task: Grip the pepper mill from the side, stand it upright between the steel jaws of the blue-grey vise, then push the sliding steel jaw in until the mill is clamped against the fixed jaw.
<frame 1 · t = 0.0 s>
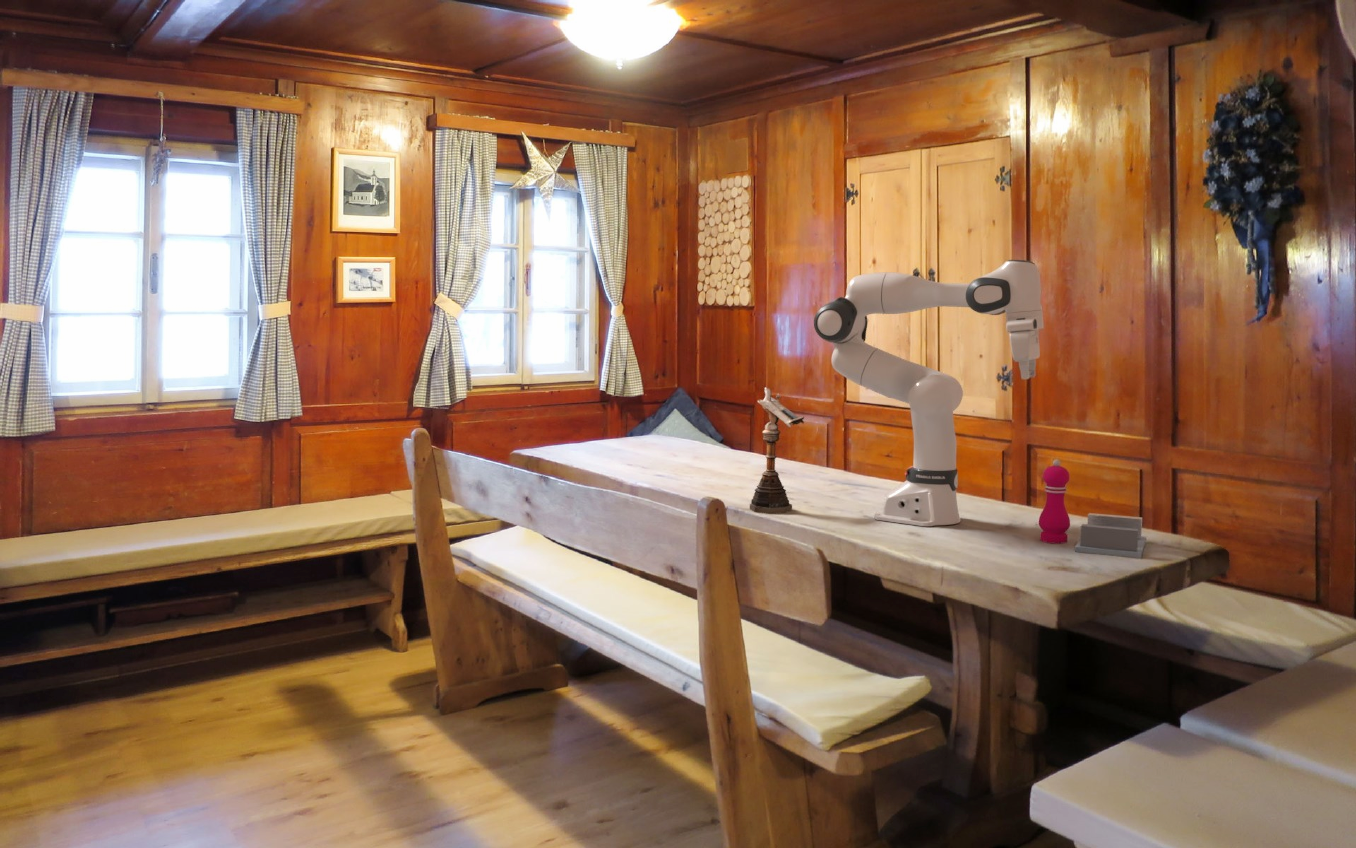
hand: (1028, 378, 257), 39 cm above the table, tool pointing down, fingers open, 8 cm apart
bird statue: (779, 510, 287), on the table
vise: (1110, 548, 240), on the table
sliding jaw: (1114, 525, 247), point 4 cm above the table, slide at 0.0 cm
pepper mill: (1053, 541, 248), on the table
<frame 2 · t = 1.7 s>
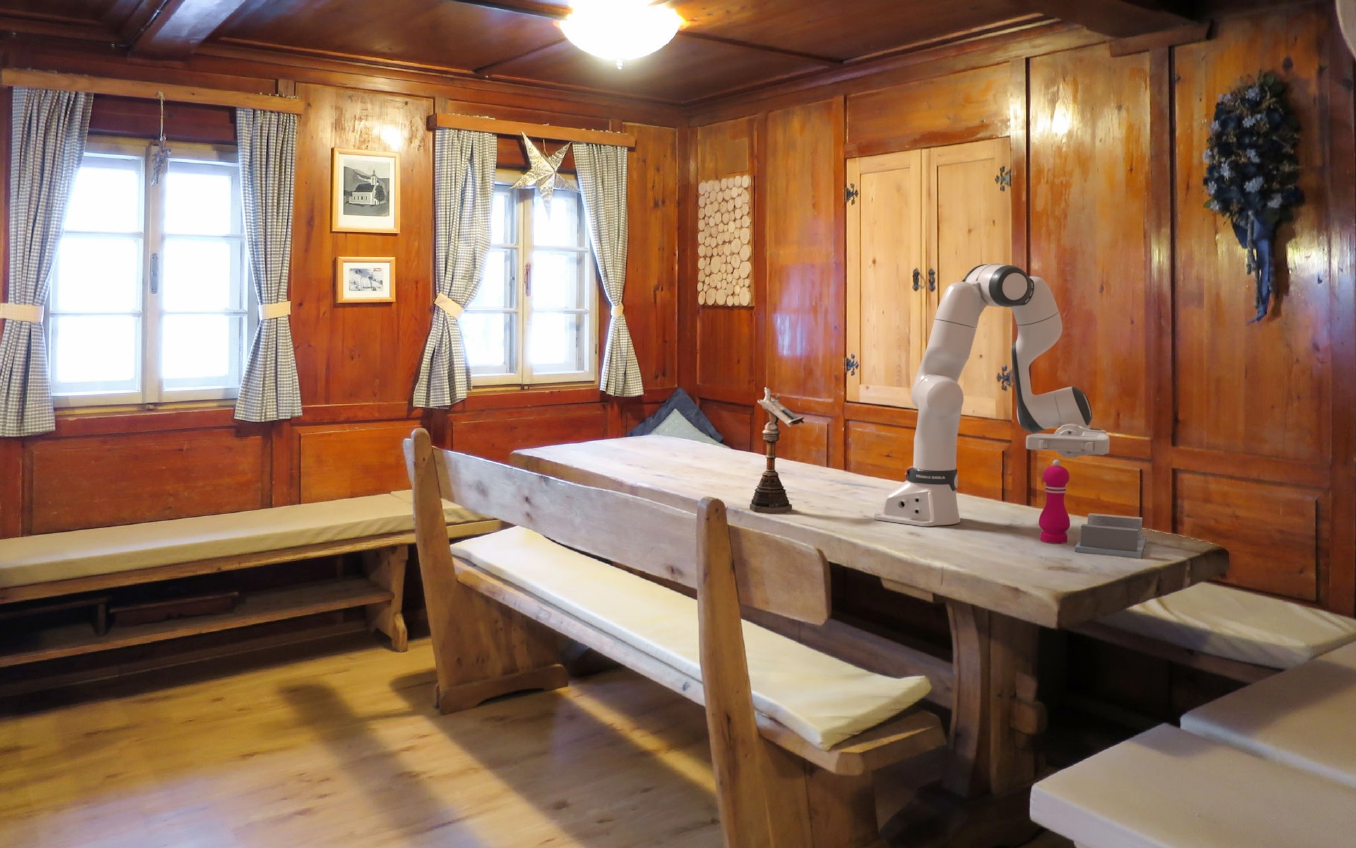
hand: (1063, 446, 256), 22 cm above the table, tool horizontal, fingers open, 8 cm apart
nothing on the table moved.
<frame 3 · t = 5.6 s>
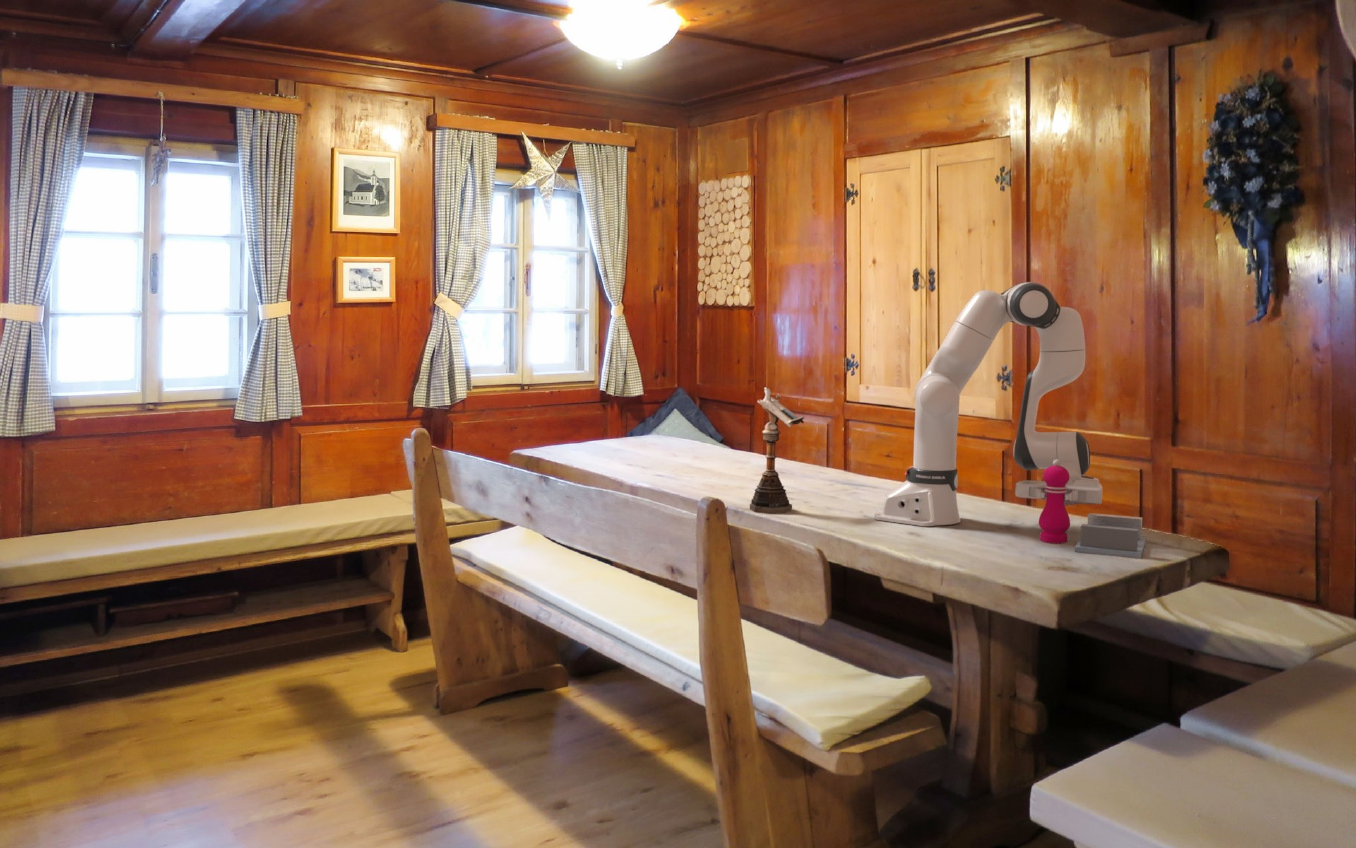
hand: (1054, 496, 246), 11 cm above the table, tool horizontal, fingers closed on pepper mill, 5 cm apart
pepper mill: (1053, 541, 248), on the table, touching gripper
everything else where it was.
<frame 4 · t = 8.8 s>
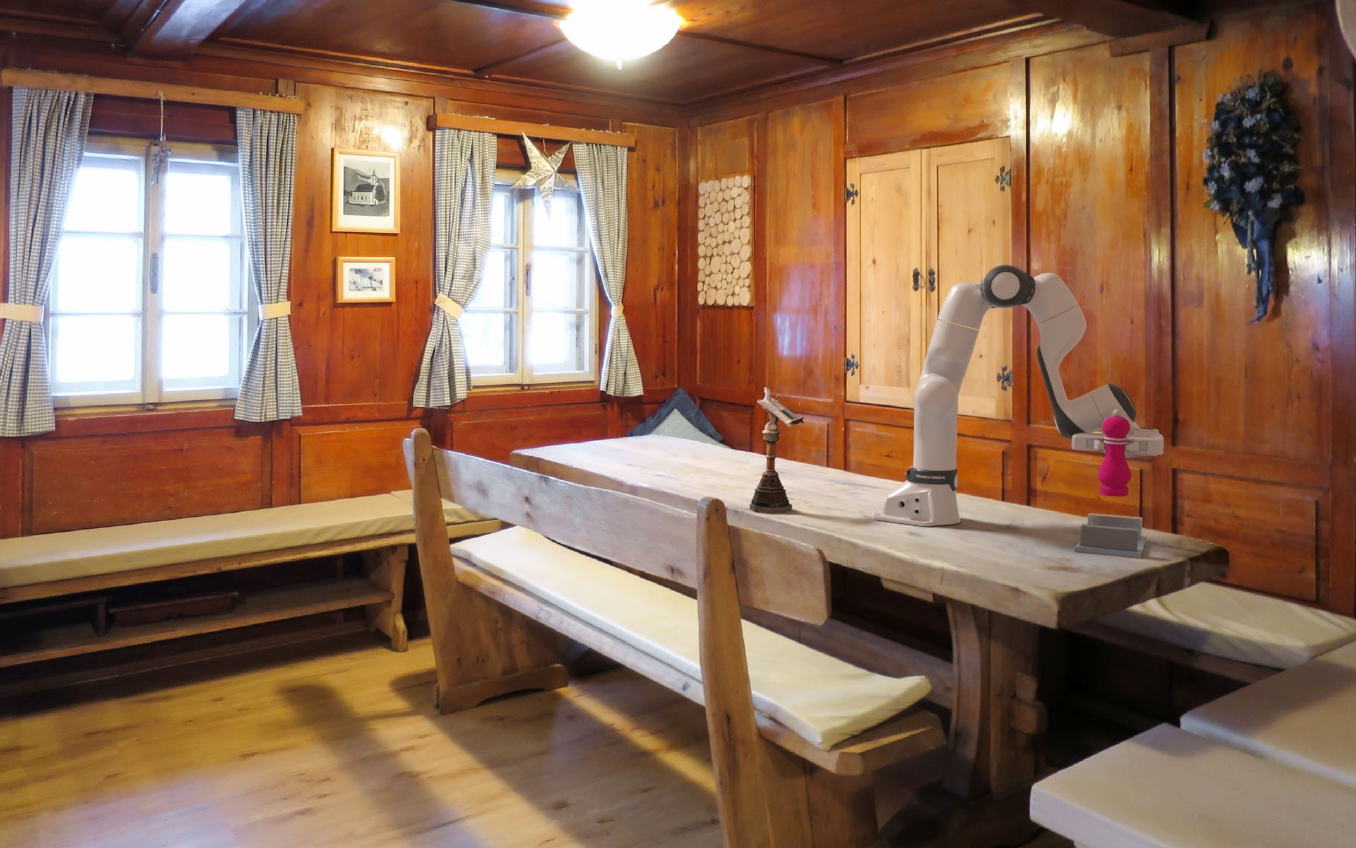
hand: (1114, 447, 237), 24 cm above the table, tool horizontal, fingers closed on pepper mill, 5 cm apart
pepper mill: (1113, 495, 239), point 13 cm above the table, touching gripper
everything else where it was.
when the fingers open (13 cm above the table, at t = 11.7 s): pepper mill stays where it is, resting on vise.
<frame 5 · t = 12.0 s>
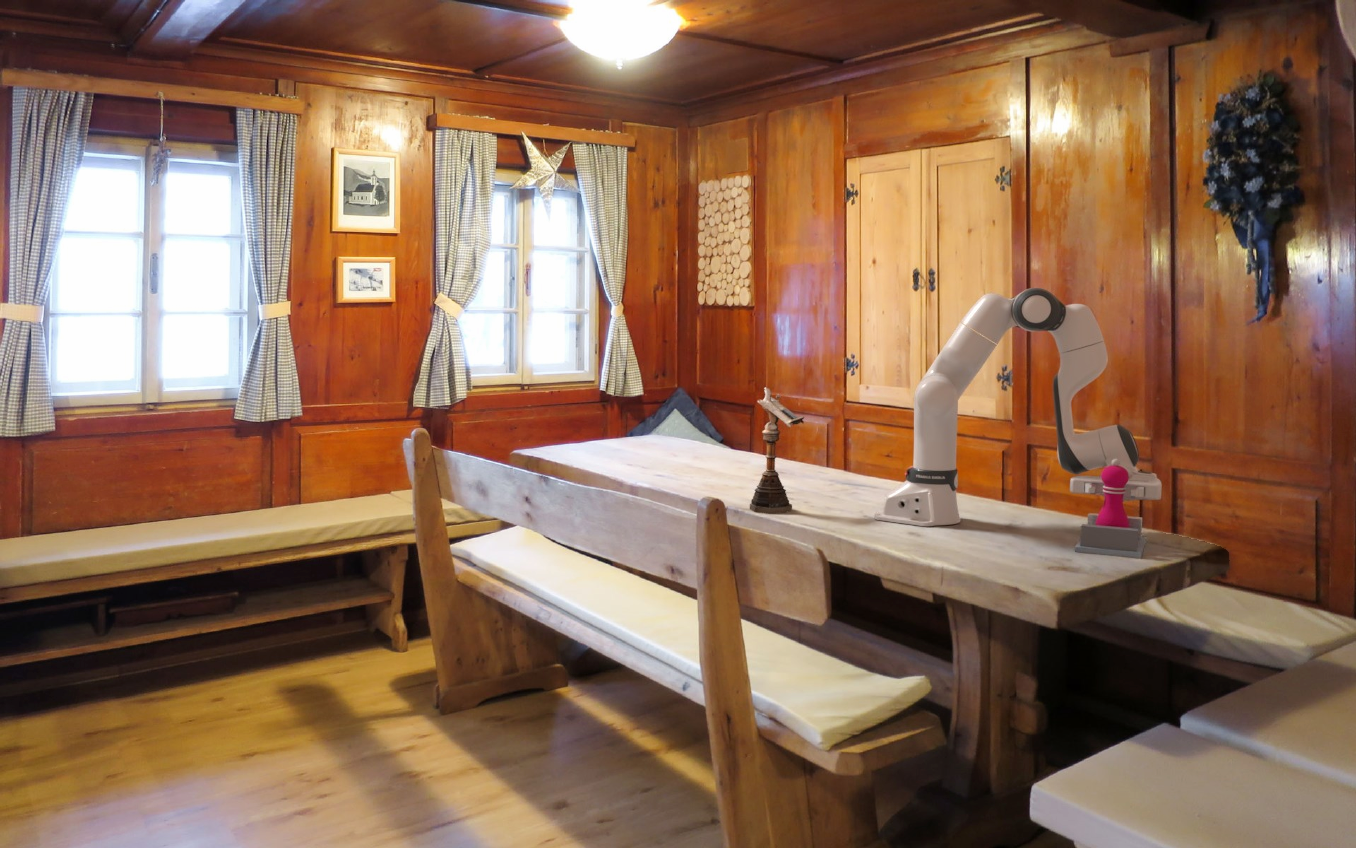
hand: (1112, 492, 238), 13 cm above the table, tool horizontal, fingers open, 8 cm apart
pepper mill: (1111, 543, 240), point 1 cm above the table, touching vise
everything else where it was.
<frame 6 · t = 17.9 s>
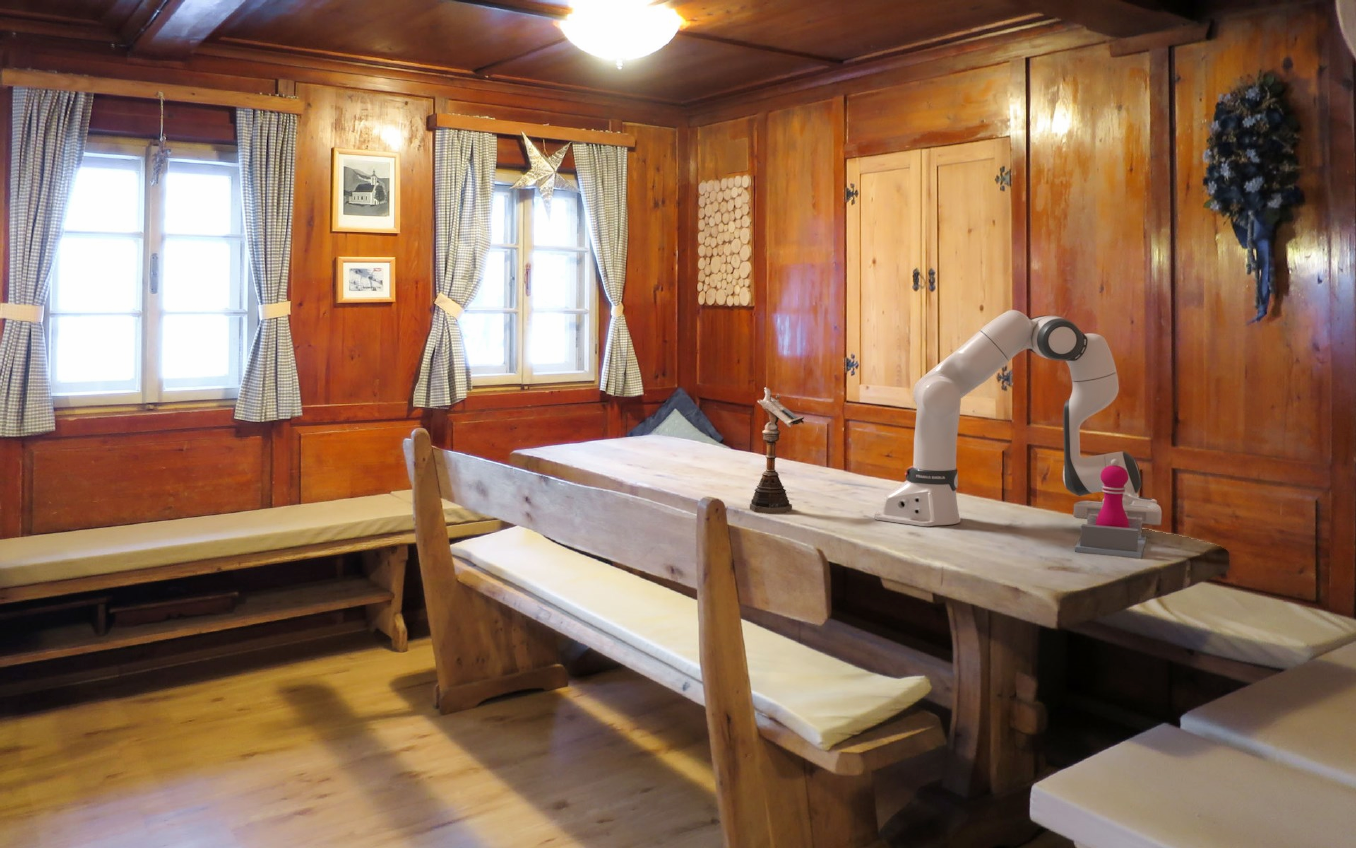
hand: (1114, 518, 248), 5 cm above the table, tool horizontal, fingers closed, pressing on sliding jaw
sliding jaw: (1114, 526, 247), point 4 cm above the table, slide at 0.5 cm, touching gripper
everything else where it was.
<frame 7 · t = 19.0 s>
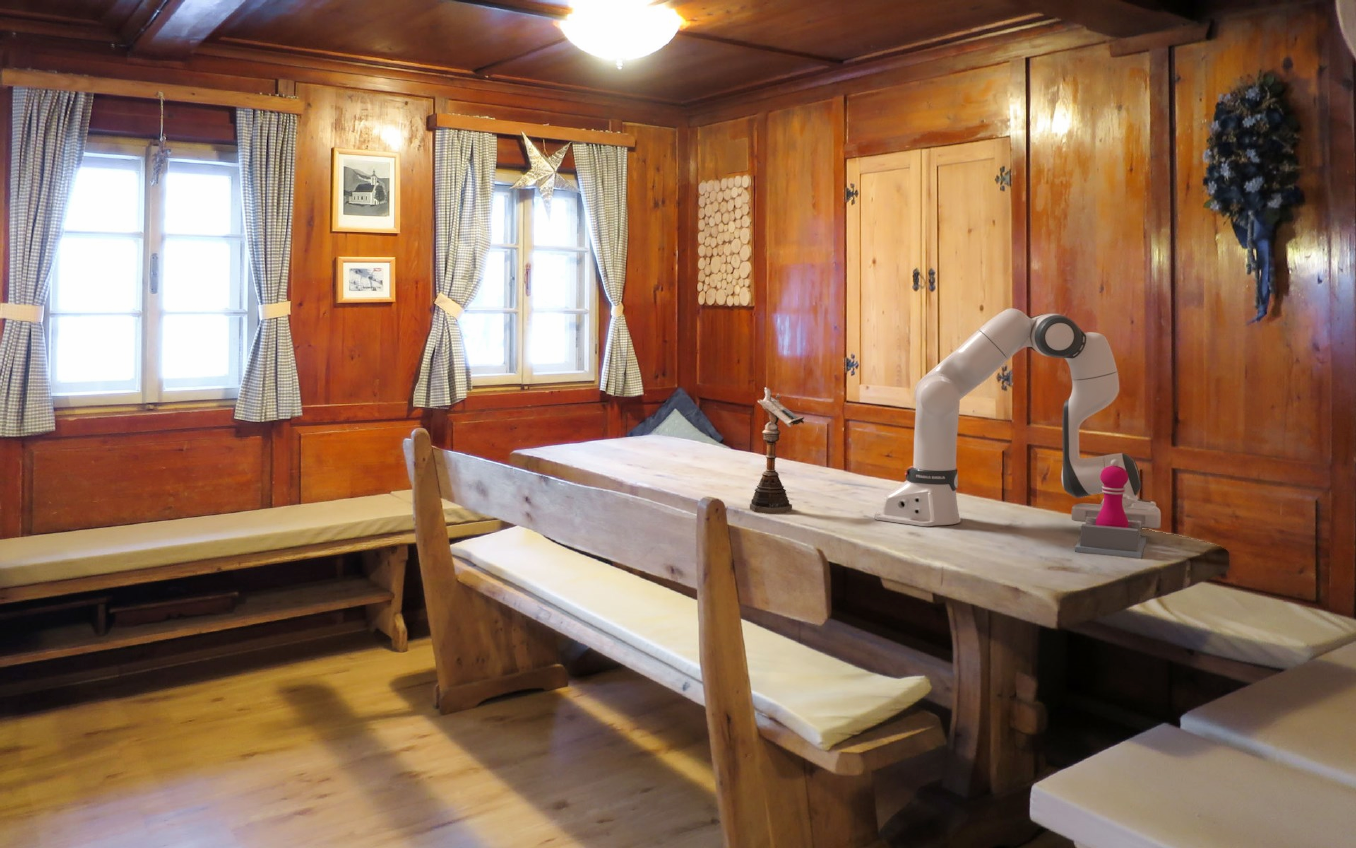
hand: (1113, 521, 244), 5 cm above the table, tool horizontal, fingers closed, pressing on sliding jaw
sliding jaw: (1112, 529, 243), point 4 cm above the table, slide at 4.6 cm, touching gripper, pepper mill
pepper mill: (1111, 544, 239), point 1 cm above the table, touching sliding jaw, vise
everything else where it was.
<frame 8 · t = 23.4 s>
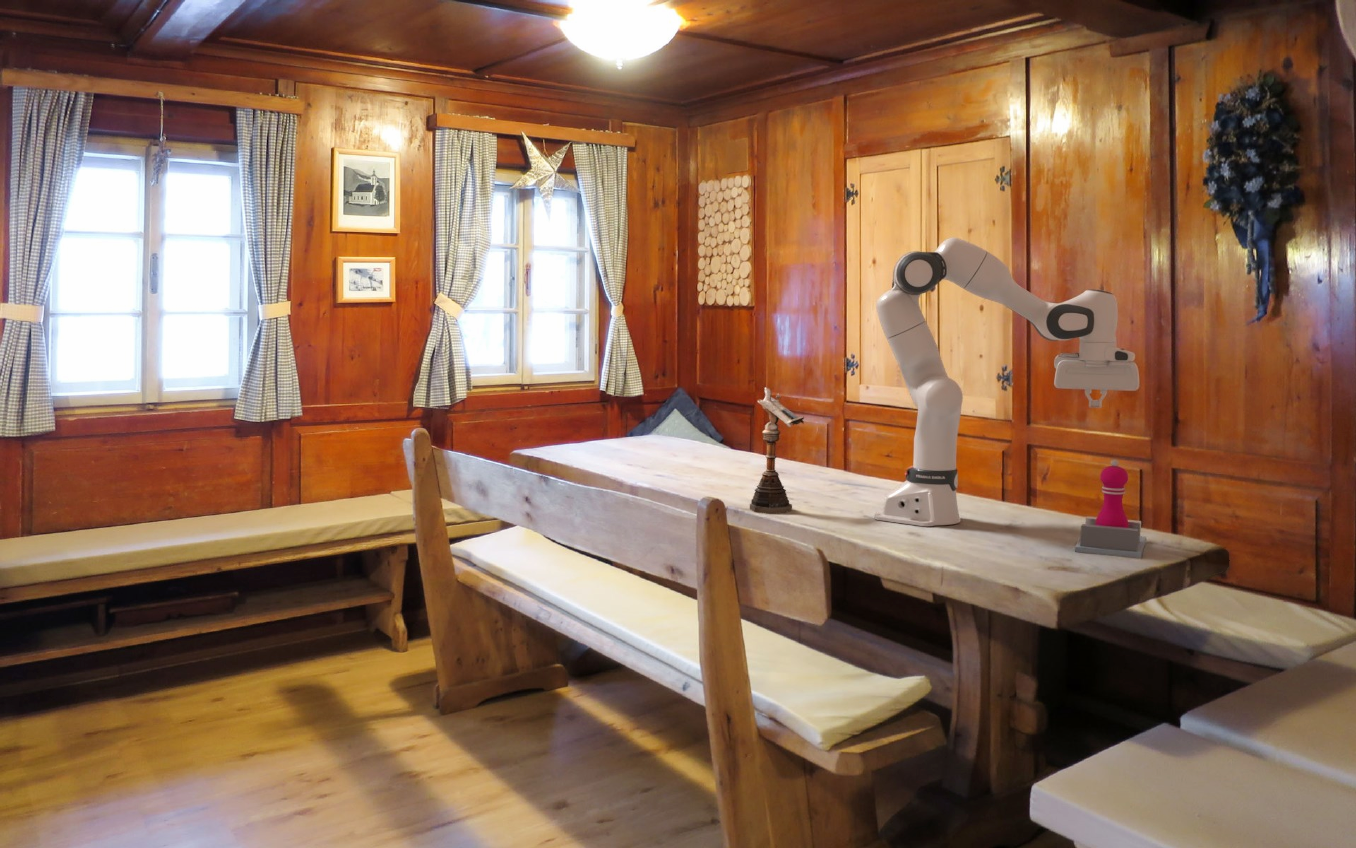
hand: (1095, 407, 262), 31 cm above the table, tool pointing down, fingers closed
sliding jaw: (1112, 529, 243), point 4 cm above the table, slide at 4.8 cm
pepper mill: (1111, 544, 239), point 1 cm above the table, touching vise
everything else where it was.
at the end: pepper mill 0.4 cm off-centre on the vise, point 1.0 cm above the vise's base; pepper mill tilted 0°; sliding jaw slide at 4.8 cm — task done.
